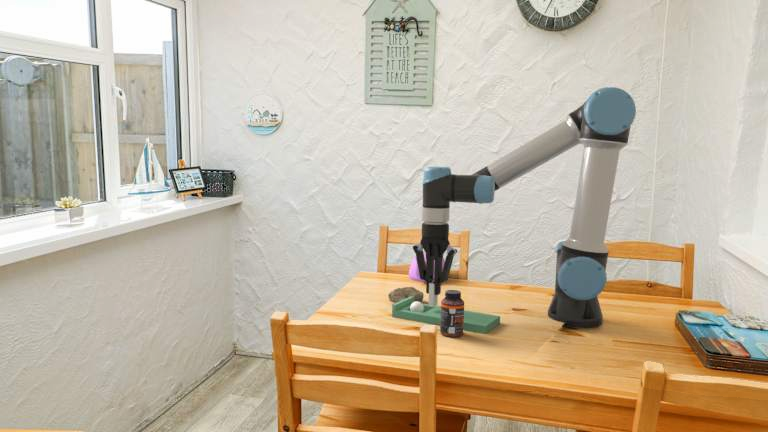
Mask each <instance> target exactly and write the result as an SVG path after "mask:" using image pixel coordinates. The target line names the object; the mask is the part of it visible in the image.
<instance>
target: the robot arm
mask: <svg viewBox="0 0 768 432" xmlns="http://www.w3.org/2000/svg"><path fill="white" fill-rule="evenodd" d="M636 109H637V108H636V104H635V101H634V99H633V96H631V94H629V93H628V92H627V91H626V90H623V89H621V88H619V87H615V86H614V87H613V86H609V87H602V88H600V89H599V88H598V89H597V90H595V91H594V92H592V93H591V95H590V96H588V98H587V100H586V101H585V102H584V103H582V105H580V106H579V107H578V108H577V109H575V110H573V111H572V112H570V113H568V114H567V116H566V118H565V120H563V121H561V122H560V123H558V124H557V125H555V126H553V127H551V128H550V129H548V130H546V131H544V132H542V133H541V134H539V135H538V136H536V137H534V138H532V139H531V140H529V141H528V142H525V143H524V144H523V145H520V146H519V147H517V148H515V149H513V150H512V151H510V152H508V153H507V154H505V155H504V156H501V157H500V158H498V159H496V160H495V161H493V162H492V163H490V164H488V165H487V166H484V167H482V168H481V169H479V170H477V171H476V172H474V173H473V174H453V173H452V170H451V167H448V166H447V167H446V166H427V167H426V168H424V170H423V181H422V210H421V211H422V212H421V221H422V223H421V239H420V241H419V243H418V244H415V245H413V246H412V249H413V251H414V253H415V256H416V258H417V263H418V269H419V274H420V279H422V280H425V281H426V282H425V283H426V284H425V285H426V286H425V292H426V294H428V304H429V305H428V306H431V307H434V306H438V300H439V299H438V297H439V295H440V294H441V293H442V292H441V291H442V283H444V282H447V281H448V279H449V276H450V273H451V268H452V265H453V262H454V261H453V260H454V257H455V255H456V254H457V253H458V249H457V248H454V247H452V246H451V243H450V241H449V238H450V237H449V235H450V230H449V229H450V224H449V223H448V222H450V203H467V204H468V203H469V204H471V203H472V204H479V205H481V204H491V203H493V202H494V200H495V193H496V191H497V190H499V189H501V188H503V187H505V186H507V185H508V184H510V183H512V182H514V181H516V180H517V179H519V178H521V177H522V176H524V175H527V173H530V172H532V171H533V170H535V169H537V168H539V167H541V166H542V165H544V164H545V163H548V162H549V161H551V160H554V159H555V158H556V157H558V156H560V155H562V154H563V153H565V152H567V151H569V150H570V149H572V148H574V147H576V146H579V144H581V145H583V153H582V158H581V159H582V160H581V166H580V173H579V176H578V177H579V178H578V182H577V183H578V185H577V189H576V196H575V203H574V208H573V214H572V219H571V220H572V221H571V226H570V232H569V237H568V238H567V239H565V241H560V242H558V243H557V247H556V252H555V253H556V264H555V283H554V288H555V289H554V294H553V297H552V299H551V302H550V304H549V306H548V309H547V317H548V318H549V319H552V320H553V321H556V322H559V323H563V324H562V327H567V328H572V329H573V328H574V329H594V328H598V327H599V328H600V327H601V326H602V325H603V323H604V322H603V320H604V319H603V317H604V316H603V311H602V308H601V306H600V302H599V301H600V300H599V297H598V296H599V295H600V294H601V293H602V292H603V290H604V289H605V287H606V284H607V279H608V278H607V272H606V270H607V263H608V257H609V252H610V251H609V248H608V247H607V246H606V244H605V238H606V233H607V227H608V222H609V221H608V220H609V215H610V209H611V203H612V198H613V192H614V187H615V186H614V185H615V181H616V175H617V170H618V163H619V157H620V152H621V150H622V149H624V147H627V146H628V143H629V139H630V138H629V137H630V132H631V126H632V124H633V123H634V120H635V118H636V113H637V112H636V111H637V110H636ZM425 252H426V264H425V259H424V254H425ZM445 253H446V254H447V255H446V256H445V259H444V260H445V263H444V267H443V271H442V259H443V258H444V254H445ZM434 260H435V268H434ZM433 275H434V279H433ZM433 280H434V282H433Z"/></svg>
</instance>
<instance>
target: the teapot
mask: <svg viewBox="0 0 768 432" xmlns="http://www.w3.org/2000/svg"><path fill="white" fill-rule="evenodd" d="M424 259H425V262H426V252H425V251H424ZM444 263H445V259H444V257H443V259H442V271H443V267H444ZM434 268H435V260H434ZM408 278H409V279H410V280H411V281H416V282H420V283H426V281H425V280H422V279H420V274H419V269H418V263H417V258H416V255H415V256H414V258H413V260H412V262H411V264H410V267H409V270H408ZM433 279H434V275H433ZM433 282H434V280H433Z"/></svg>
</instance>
